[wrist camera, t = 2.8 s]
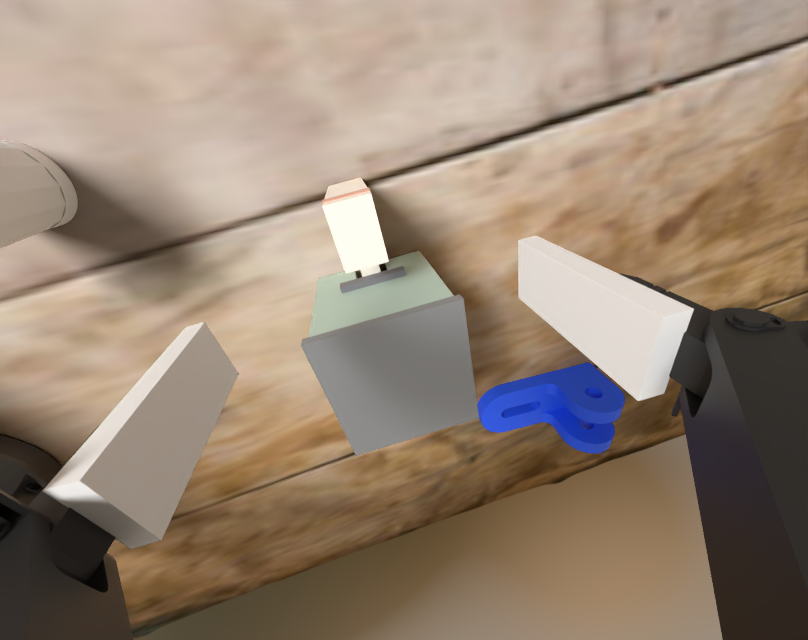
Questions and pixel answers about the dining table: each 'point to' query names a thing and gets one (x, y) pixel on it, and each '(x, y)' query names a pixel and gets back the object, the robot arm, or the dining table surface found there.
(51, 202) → the cup
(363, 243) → the pink striped cream block
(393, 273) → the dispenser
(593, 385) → the bracket
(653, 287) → the robot arm
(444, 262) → the dining table surface
